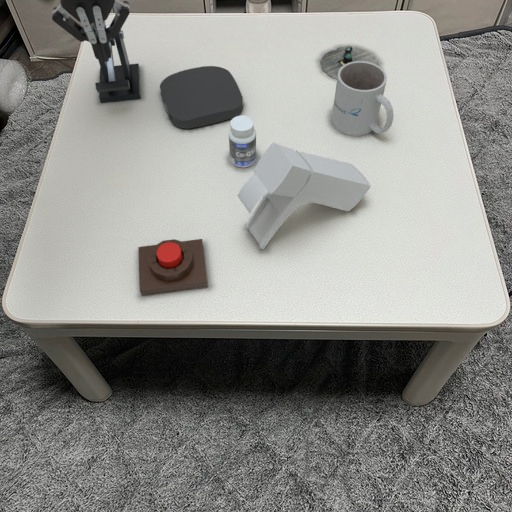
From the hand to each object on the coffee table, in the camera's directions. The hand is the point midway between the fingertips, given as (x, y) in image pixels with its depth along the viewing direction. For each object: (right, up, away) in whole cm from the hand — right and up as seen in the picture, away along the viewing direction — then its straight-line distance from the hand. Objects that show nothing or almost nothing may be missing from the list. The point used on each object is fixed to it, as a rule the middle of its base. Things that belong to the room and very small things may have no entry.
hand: (104, 59), depth 91 cm
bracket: (-1, 0, +15) cm, 15 cm away
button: (+14, -35, -13) cm, 40 cm away
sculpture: (+47, +6, +18) cm, 50 cm away
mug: (+46, -10, +7) cm, 48 cm away
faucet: (+35, -28, -5) cm, 45 cm away
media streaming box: (+16, -4, +12) cm, 20 cm away
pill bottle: (+24, -17, +3) cm, 30 cm away
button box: (+14, -37, -11) cm, 41 cm away
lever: (-1, +2, +6) cm, 7 cm away
